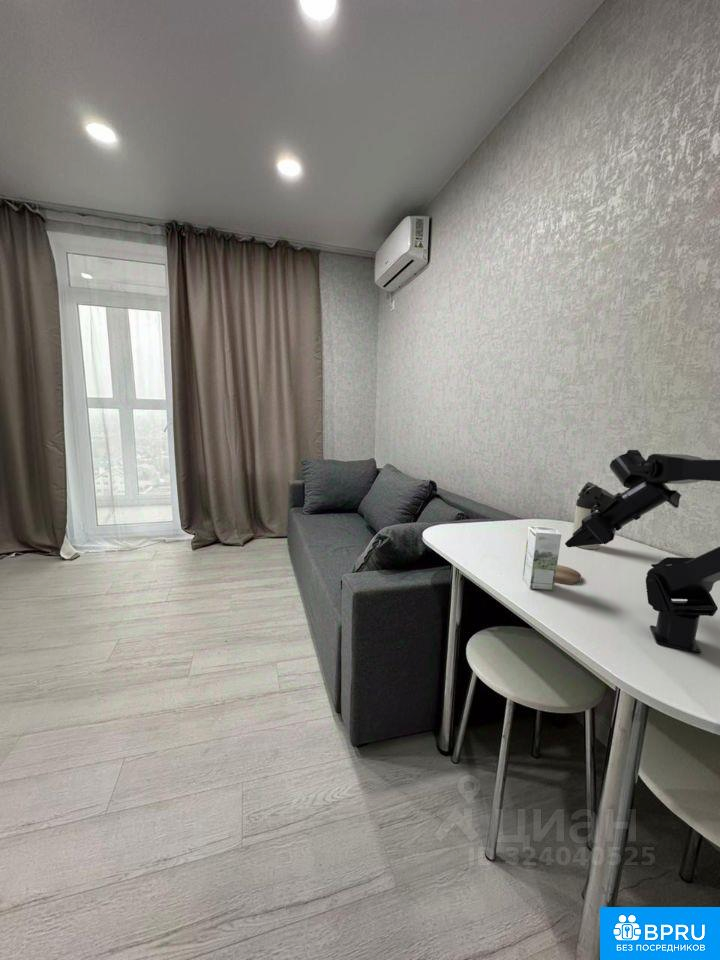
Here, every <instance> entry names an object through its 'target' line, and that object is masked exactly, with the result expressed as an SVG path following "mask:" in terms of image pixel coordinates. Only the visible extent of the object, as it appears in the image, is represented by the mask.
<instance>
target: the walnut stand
mask: <svg viewBox="0 0 720 960" xmlns="http://www.w3.org/2000/svg"><path fill="white" fill-rule="evenodd" d="M581 579H582V574H581V573H580V572H579V571H577V570H576V569H574V568H571V567H568V566H565V565H560V564H557V570H556V578H555V583H557V584H565V585H575V584H579V583H580V582H581Z"/></svg>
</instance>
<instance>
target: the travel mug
mask: <svg viewBox="0 0 720 960" xmlns="http://www.w3.org/2000/svg"><path fill="white" fill-rule="evenodd" d="M581 490H582V489H581ZM581 490H579V491H578V494H579V493H580V491H581ZM594 506H595V504H593V503H591V502H590V501H588V500H586V499H582V498H581V497H579V496H578V498H577V500H576V506H575V512H574V520H573V529H572V536H573V533H574V532H575V531H576V530H577V529H579V528H580V527H581V526H582V520H583V518H585V517H586V516H587V515H589V514H590V512H591V509H592V508H593V507H594ZM595 510H597V509H595ZM572 536H571V537H572ZM600 545H601V544H594V545H584V546H576V548H577V547H578V548H581V549H585V550H597V549H600Z"/></svg>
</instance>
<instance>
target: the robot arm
mask: <svg viewBox="0 0 720 960" xmlns="http://www.w3.org/2000/svg"><path fill="white" fill-rule="evenodd" d="M609 468H610V470H611V472H612V473H613V474H614V476H615V477H616V478H617V480H618V481H619V482H620V483H621V485H622V486H623V487H624V488H626V489H627V490H624V491H623V492H617V493H615V494H612V493H611V492H609V491H608V490H606V489H603V488H602V487H600V486H598V485H597V484H594V483H592V482H590V481H588V482H586V483H585V485H584V486H583V487H582V489H581V491H580V490H579V491H580V493H579V492H578V495H577V496H578V498H579V497H581V498H582V499H586V500H588V501H590V502H591V503H593V504H595V506H594V507H593V508H592V509H591V512H590V514H589V515H587V516H586V517H585V518H583V520H582V526H581V527H580V528H579V529H577V530H576V531H575V532H574V533H573V532H572V535H573V536H571V537H569V538H568V540H567V541H565V543H564V545H565V546H566V547H567V548H575V547H576V548H577V546H584V545H594V544H600V545H606V544H608V543H610V542H612V541H614V539H615V537H616V533H617V532H618V531H620V530H621V529H623V527H624V526H626V525H627V524H629V523H631V522H633V521H634V520H635V521H637V520H639V519H641V517H642V516H643V515H645V514H647V513H650V511H652V510H654V509H656V508H657V507H660V506H661V505H663V504H664V503H666V502H667V503H668V504H669V505H670V506H672V507H673V508H675V509H679V507H680V498H681V497H682V494H681V493H680V492H679V491H677V490H675V489H670V488H669V486H668V485H667V484H671V485H672V484H674V485H676V484H677V485H685V484H692V483H694V484H695V483H699V482H702V481H709V482H710V481H711V482H720V459H705V458H701V457H699V456H694V455H690V454H689V455H688V454H676V453H651V454H650V455H648V457H647V459H645V458H644V457H643V455H642V454H641V452H640V451H639V450H638V449H628V450H627V451H626V453H623V454H621V455H618V456H617V457H616V458H614V459H612V460H611V461H610V464H609ZM595 509H597V510H595ZM650 566H651V567H652V568H649V570H648V571H647V572H646V577H645V585H646V586H645V589H646V595H647V603H648V605H649V606H651V607H652V609H653V611H657V612H658V614H657V620H656V625H652V624H651V625H649V629H650V632H651V634H652V636H653V638H654V641H655V643H657V645H662V646H664V647H665V646H666V647H671V648H674V649H678V650H683V651H686V652H690V653H695V654H699V655H700V654H702V649H701V648H700V647H699V646H700V645H699V644H698V643H697V641H696V638H697V632H698V628H699V627H698V626H699V621H700V618H701V617H700V616H702V617H703V616H704V617H705V616H706V617H714V616H715V614H716V612H717V611H718V609H719V608H718V606H717V604H716V602H715V600H714V598H713V597H712V595H711V593H710V592H711V591H712V590H713V587H714V584H715V583H716V582H720V546H718V547H716V548H714V549H713V548H712V549H711V550H709V551H706V552H705V553H703V554H701V555H698V556H696V557H680V556H679V557H678V556H677V557H676V556H675V557H674V556H673V557H671V556H668V557H665V558H663V559H662V560H660V561H659V562H658V563H651V565H650Z"/></svg>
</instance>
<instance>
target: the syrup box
mask: <svg viewBox="0 0 720 960" xmlns="http://www.w3.org/2000/svg"><path fill="white" fill-rule="evenodd" d="M526 537H527V538H526V545H525V546H526V547H525V554H524V562H523V563H524V564H523V573H522V580H523V582H524V583H525V584H526V586H528V588H529V589H530V590H539V591H540V590H541V591H542V590H543V591H555V583H556V582H555V578H556V570H557V565H558V562H559V555H560V554H559V553H560V548H561V540H562V534H561V533H560V532H559V531H558V530H557V529H556V528H554V527H552V526H536V525H535V526H534V525H528V530H527V536H526Z"/></svg>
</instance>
